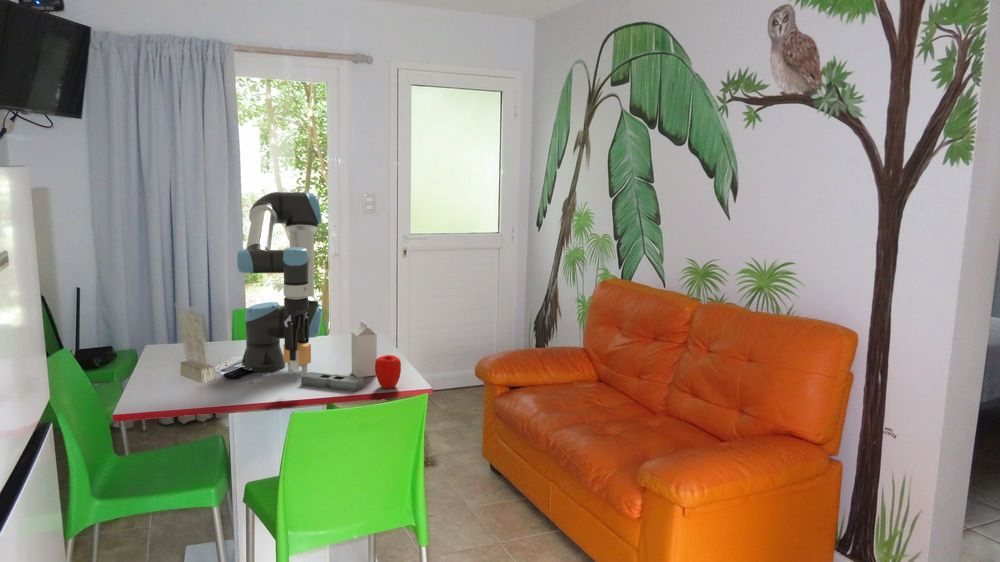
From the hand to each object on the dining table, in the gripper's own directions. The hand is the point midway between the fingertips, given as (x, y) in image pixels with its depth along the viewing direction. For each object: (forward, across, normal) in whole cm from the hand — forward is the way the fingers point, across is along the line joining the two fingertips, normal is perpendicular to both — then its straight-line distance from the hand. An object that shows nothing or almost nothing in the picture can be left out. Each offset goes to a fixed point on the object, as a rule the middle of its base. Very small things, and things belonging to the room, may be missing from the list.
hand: (297, 367), depth 229 cm
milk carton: (+9, +27, -10) cm, 31 cm away
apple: (+9, +16, -24) cm, 31 cm away
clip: (+2, 0, 0) cm, 2 cm away
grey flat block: (+9, +11, -6) cm, 16 cm away
